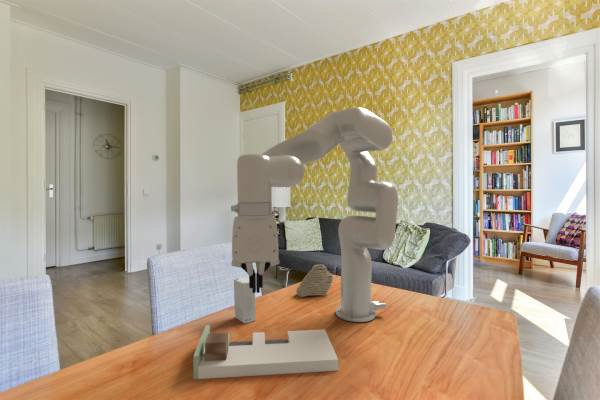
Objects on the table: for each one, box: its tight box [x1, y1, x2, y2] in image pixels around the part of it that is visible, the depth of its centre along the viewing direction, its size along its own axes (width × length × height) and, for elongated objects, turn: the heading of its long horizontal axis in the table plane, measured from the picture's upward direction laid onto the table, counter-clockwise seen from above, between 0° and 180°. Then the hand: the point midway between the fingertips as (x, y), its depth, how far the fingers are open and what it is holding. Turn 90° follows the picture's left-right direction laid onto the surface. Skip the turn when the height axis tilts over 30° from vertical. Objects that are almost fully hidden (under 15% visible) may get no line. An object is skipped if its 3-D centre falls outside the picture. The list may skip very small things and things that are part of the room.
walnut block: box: [205, 332, 229, 361], centre depth 72 cm, size 4×4×4 cm
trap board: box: [192, 324, 339, 380], centre depth 76 cm, size 31×15×5 cm, turn 97°
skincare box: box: [233, 276, 257, 324], centre depth 97 cm, size 6×4×12 cm
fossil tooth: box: [295, 263, 334, 298], centre depth 121 cm, size 12×6×15 cm
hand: (256, 290), depth 72 cm, fingers closed
